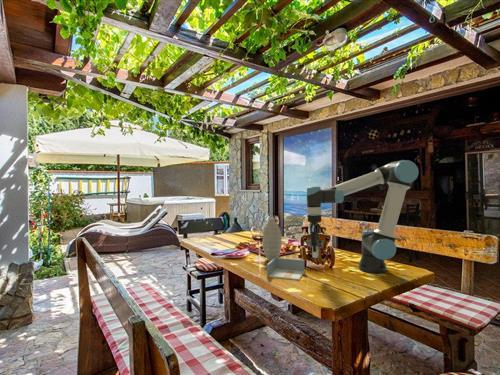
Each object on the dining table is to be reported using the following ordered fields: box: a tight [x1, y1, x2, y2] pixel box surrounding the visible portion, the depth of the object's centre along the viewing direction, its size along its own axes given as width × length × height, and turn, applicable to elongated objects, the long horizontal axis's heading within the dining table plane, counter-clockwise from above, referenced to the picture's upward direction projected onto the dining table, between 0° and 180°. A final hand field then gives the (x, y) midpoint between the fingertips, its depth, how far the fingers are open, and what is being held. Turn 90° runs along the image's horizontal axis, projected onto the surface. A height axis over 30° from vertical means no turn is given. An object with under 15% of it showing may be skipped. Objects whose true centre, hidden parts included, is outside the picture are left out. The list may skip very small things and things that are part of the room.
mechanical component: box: [305, 238, 326, 250], centre depth 164 cm, size 3×10×10 cm, turn 70°
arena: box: [266, 257, 305, 281], centre depth 169 cm, size 18×15×7 cm
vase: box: [262, 217, 283, 262], centre depth 198 cm, size 13×13×28 cm
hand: (315, 256), depth 164 cm, fingers closed on mechanical component, 3 cm apart
